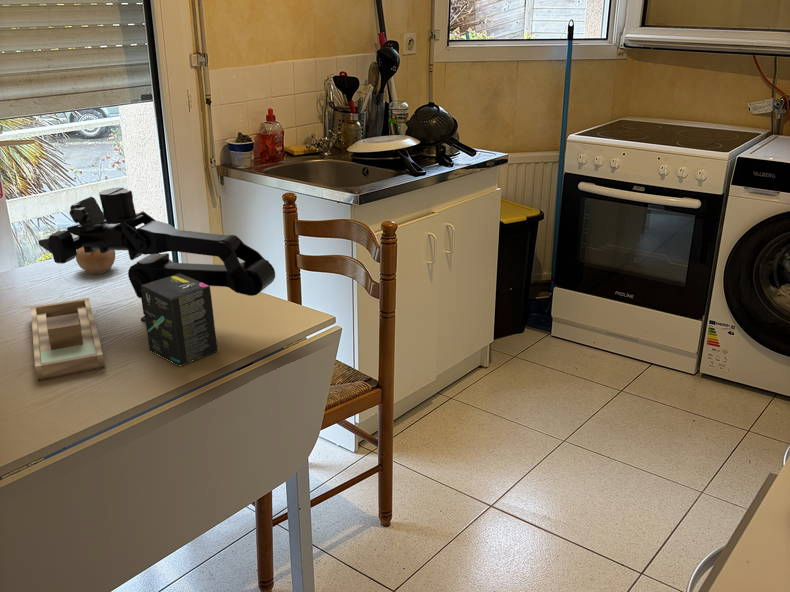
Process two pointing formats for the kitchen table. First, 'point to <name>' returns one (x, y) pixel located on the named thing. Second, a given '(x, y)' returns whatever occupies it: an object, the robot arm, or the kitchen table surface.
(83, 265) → the onion
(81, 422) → the kitchen table surface
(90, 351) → the sage pad
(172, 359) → the tampon box
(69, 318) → the walnut block
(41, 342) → the oak tray
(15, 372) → the kitchen table surface
